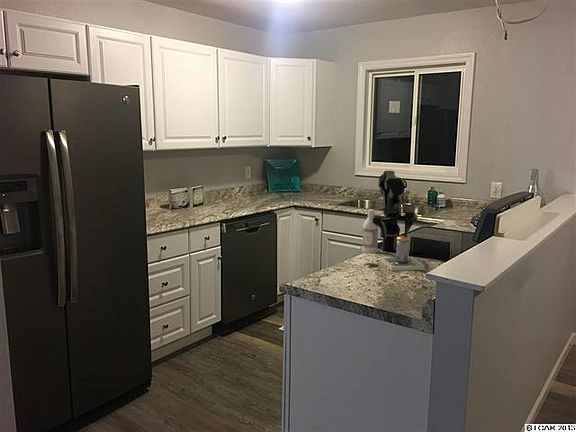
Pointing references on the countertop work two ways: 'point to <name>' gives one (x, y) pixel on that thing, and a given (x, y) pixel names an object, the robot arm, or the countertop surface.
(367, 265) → the stud
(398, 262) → the grey and gold cylinder
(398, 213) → the robot arm
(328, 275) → the countertop surface
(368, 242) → the bath foam
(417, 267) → the bin
